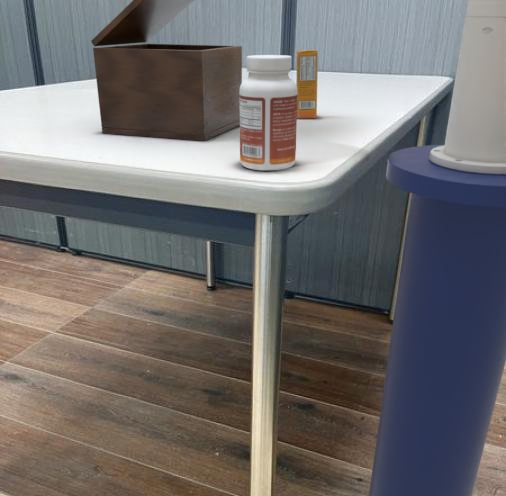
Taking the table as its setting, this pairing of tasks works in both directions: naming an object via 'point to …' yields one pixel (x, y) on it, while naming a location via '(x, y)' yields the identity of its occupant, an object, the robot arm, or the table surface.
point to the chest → (169, 89)
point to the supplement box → (307, 83)
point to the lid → (140, 21)
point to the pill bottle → (268, 114)
